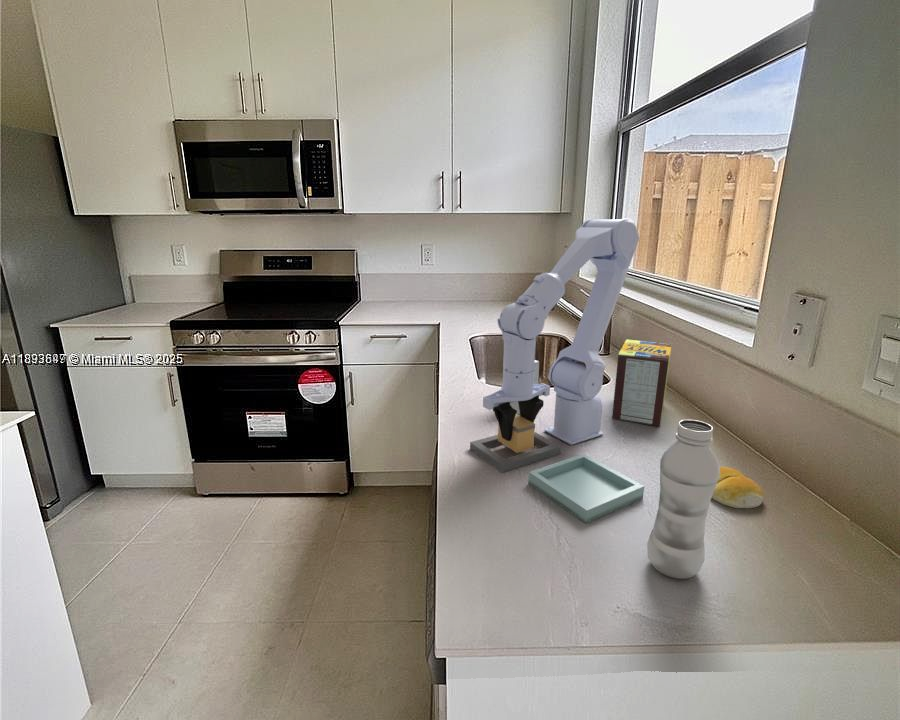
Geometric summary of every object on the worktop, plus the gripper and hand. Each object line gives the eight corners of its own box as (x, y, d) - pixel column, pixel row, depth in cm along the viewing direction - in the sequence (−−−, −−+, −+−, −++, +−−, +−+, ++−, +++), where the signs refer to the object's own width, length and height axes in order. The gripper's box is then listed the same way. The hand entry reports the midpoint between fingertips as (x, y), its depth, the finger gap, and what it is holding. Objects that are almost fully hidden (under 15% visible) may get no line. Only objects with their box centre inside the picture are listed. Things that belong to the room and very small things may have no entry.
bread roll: (732, 478, 83) (736, 458, 81) (771, 508, 74) (776, 486, 73) (688, 481, 82) (691, 460, 80) (722, 512, 73) (727, 489, 72)
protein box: (663, 404, 116) (672, 343, 112) (660, 427, 103) (669, 359, 98) (619, 397, 120) (625, 338, 116) (610, 419, 107) (617, 353, 103)
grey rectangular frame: (525, 433, 100) (525, 426, 99) (560, 453, 91) (561, 446, 91) (470, 449, 93) (470, 442, 92) (502, 472, 84) (502, 464, 84)
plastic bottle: (635, 552, 64) (653, 415, 58) (683, 550, 64) (706, 413, 59) (660, 588, 57) (683, 438, 52) (712, 584, 58) (741, 436, 52)
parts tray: (582, 464, 87) (583, 453, 86) (642, 498, 76) (644, 486, 76) (528, 483, 80) (529, 472, 80) (585, 523, 70) (587, 510, 69)
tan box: (513, 436, 95) (514, 413, 94) (533, 447, 90) (535, 423, 89) (497, 440, 93) (498, 417, 92) (517, 453, 88) (518, 428, 87)
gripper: (534, 358, 94) (531, 420, 98) (473, 369, 87) (473, 436, 91) (559, 367, 88) (554, 433, 92) (496, 379, 81) (494, 451, 85)
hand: (515, 436), depth 91 cm, fingers closed on tan box, 4 cm apart
